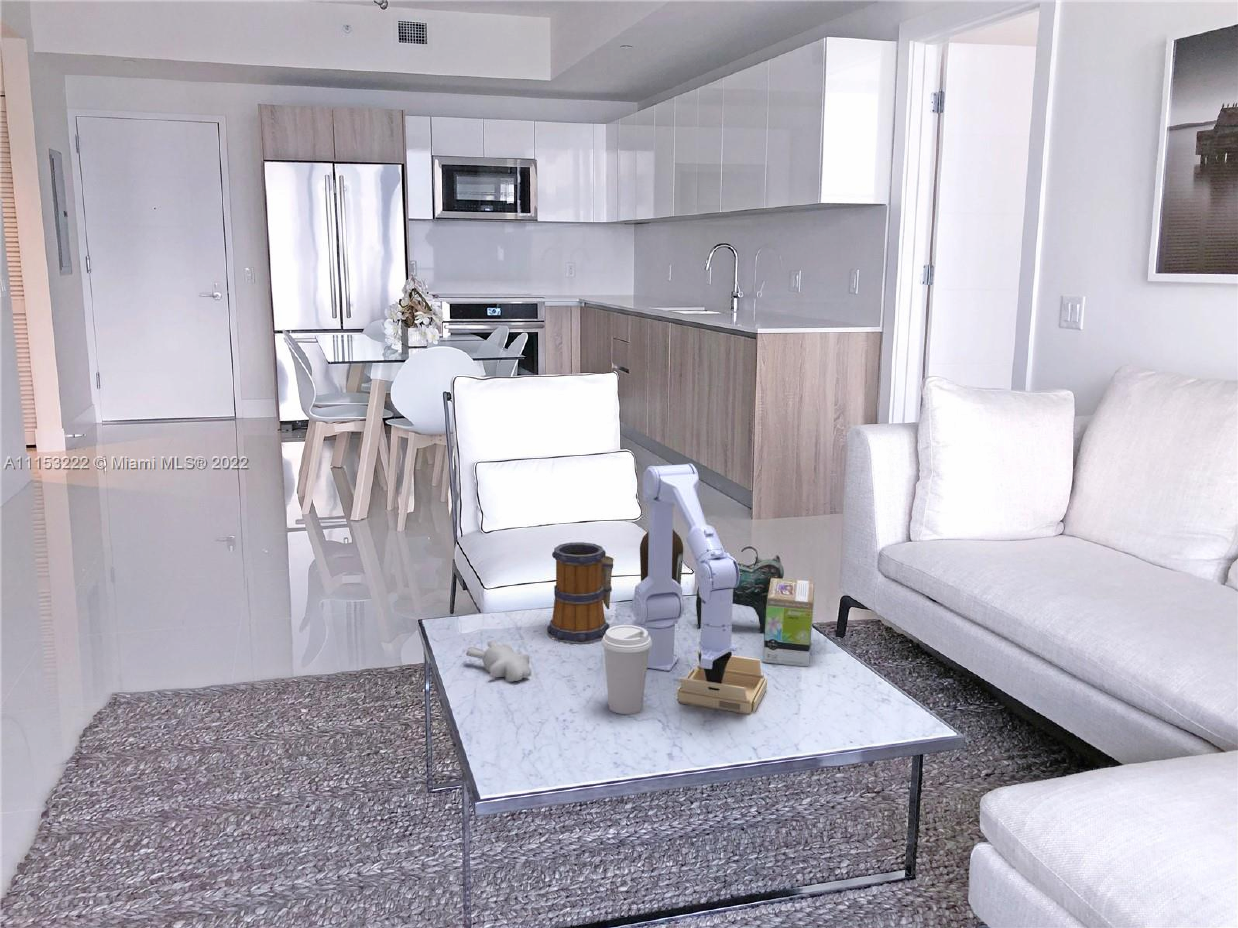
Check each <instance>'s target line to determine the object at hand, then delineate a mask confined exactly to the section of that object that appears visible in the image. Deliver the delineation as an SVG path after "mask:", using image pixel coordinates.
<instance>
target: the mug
mask: <svg viewBox="0 0 1238 928" xmlns="http://www.w3.org/2000/svg"><path fill="white" fill-rule="evenodd" d="M553 549H554V551H553V552H552V553H551V556H552V558H553V559H555V585H554V586H553V590H554V591H553V593H554V595H553V596H554V601H553V608H552V609H553V610H552V617H551V618H552V619H551V620H550V621H549V625H548V626H546V632H548V633H547V636H549V637H550V638H549V637H548V638H549V639H551V638H554V639H555V640H556V641H555V640H554V641H555V642H557V641H558V642H557V643H560V642H565V643H564V644H566V643H570V644H569V645H573V644H578V645H591V643H592V644H595V643H594V642H596V643H599V642H602V638H603V636H604V635H605V633H606V631H607V629H609V628H610V624H609V622H607V621H606V618H605V610H604V606H605V608H606V609H607V610H610V606H611V605H610V603H611V593H612V592H613V589H612V576H613V575H612V574H613V569H614V558H613V557H611V556H608V555H607V553H606V550H605V549H604V548H603V547H602V545H598V544H596V543H591V542H585V541H584V542H583V541H581V542H580V541H579V542H567V543H561V544H558V545H557V546H555V547H554V548H553Z"/></svg>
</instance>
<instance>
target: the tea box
mask: <svg viewBox="0 0 1238 928" xmlns="http://www.w3.org/2000/svg"><path fill="white" fill-rule="evenodd" d="M814 598H815V581H812V580H811V581H810V580H803V579H802V580H800V579H799V580H797V579H786V578H783V579H778V578H771V580H770V586H769V592H768V598H767V606H766V621H765V633H764V638H763V639H764V642H763V654H762V662H763V663H768V664H777V665H786V666H797V667H809V664H810V654H811V642H812V635H813V634H812V633H813V631H812V630H813V618H814V617H813V616H814V603H815V601H814V600H815V599H814Z"/></svg>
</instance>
